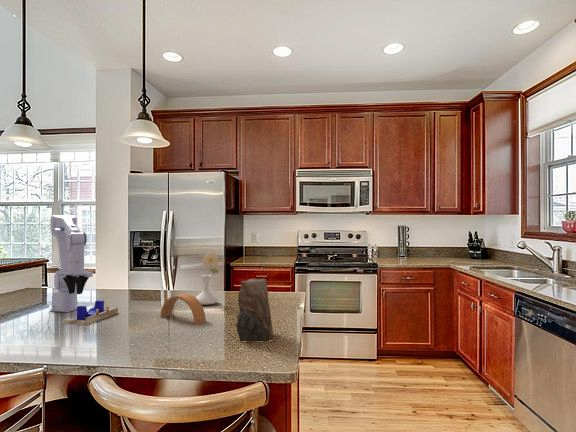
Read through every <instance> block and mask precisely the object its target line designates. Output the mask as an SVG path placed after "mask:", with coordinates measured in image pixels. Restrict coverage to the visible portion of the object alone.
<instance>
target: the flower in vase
mask: <svg viewBox="0 0 576 432" xmlns="http://www.w3.org/2000/svg"><path fill="white" fill-rule="evenodd" d="M201 262H202V264H203V265H202V266H203V267H204V268H205V267H206V268H208V269H210V270H209V272H208V271H207V270H206V269H203V268H201V271H204V272H206V273H207V274H202V275H200V277H201V279H202V281H203V290H202V291H201V292H200V293H199V294H198V295H196V296H195V297H196V298H197V299H198V300H199V302H200V303H201V305H202V306H206V305H207V306H208V305H214V304H216V303H217V302H218V301H219V300H218V297H217V296H216V295H214V294H213V293H212V292H211V291H210V290H209V282H210V279H211V277H212V274H218V273H219V270H218V269H217V268H215V267H217V266H218V264H219V262H220V257H219V254H216V253H213V252H210V253H209V252H208V253H207V254H205V255H204V256H203V257H202V260H201ZM210 272H211V273H212V274H210Z"/></svg>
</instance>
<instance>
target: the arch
mask: <svg viewBox="0 0 576 432" xmlns="http://www.w3.org/2000/svg"><path fill="white" fill-rule="evenodd" d="M196 297H197V296H194V295H192V294H191V293H182V294H178V295H173V296H171V297H168V298H167V299H166V300H165V301H164V303H163V305H162V307H161V310H160V318H165V317H169V316H172V315H173V309H174V306H175V304H176V302H177V301H178V300H181V301H183V302H184V303H186V305H187V307H189V309H190V311H191V313H192V316H193V324H194V325H198V324H201V323H204V322H206V313H205V309H204V307H203V305H201V303H200V302H199V300H198V299H197V298H196Z"/></svg>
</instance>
